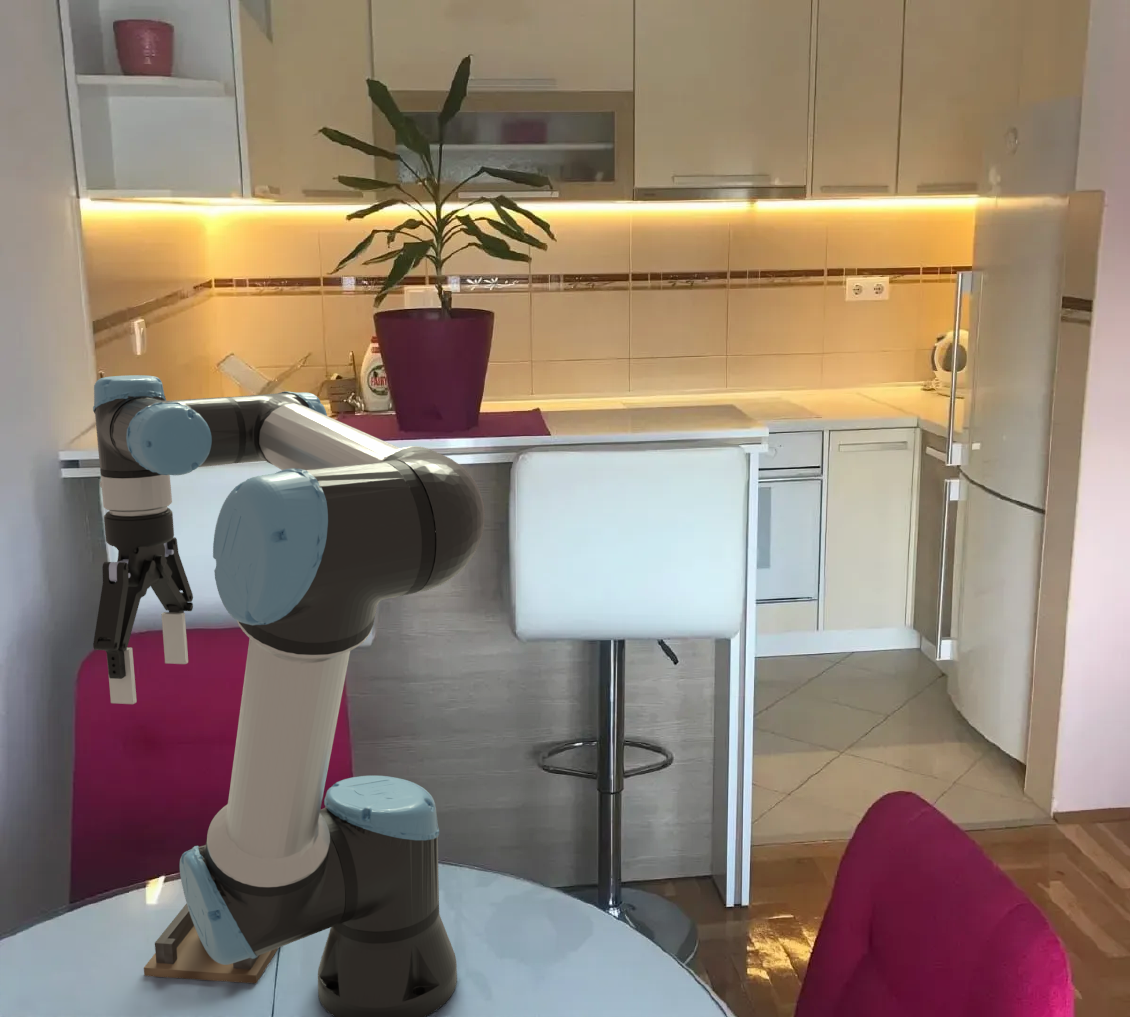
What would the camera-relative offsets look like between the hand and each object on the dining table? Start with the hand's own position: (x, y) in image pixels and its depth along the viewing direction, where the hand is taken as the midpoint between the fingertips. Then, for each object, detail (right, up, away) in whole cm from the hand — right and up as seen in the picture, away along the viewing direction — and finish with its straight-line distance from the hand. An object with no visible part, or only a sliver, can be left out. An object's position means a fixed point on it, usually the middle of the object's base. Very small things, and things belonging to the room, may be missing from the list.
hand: (151, 682), depth 135 cm
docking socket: (+10, -30, -4) cm, 32 cm away
